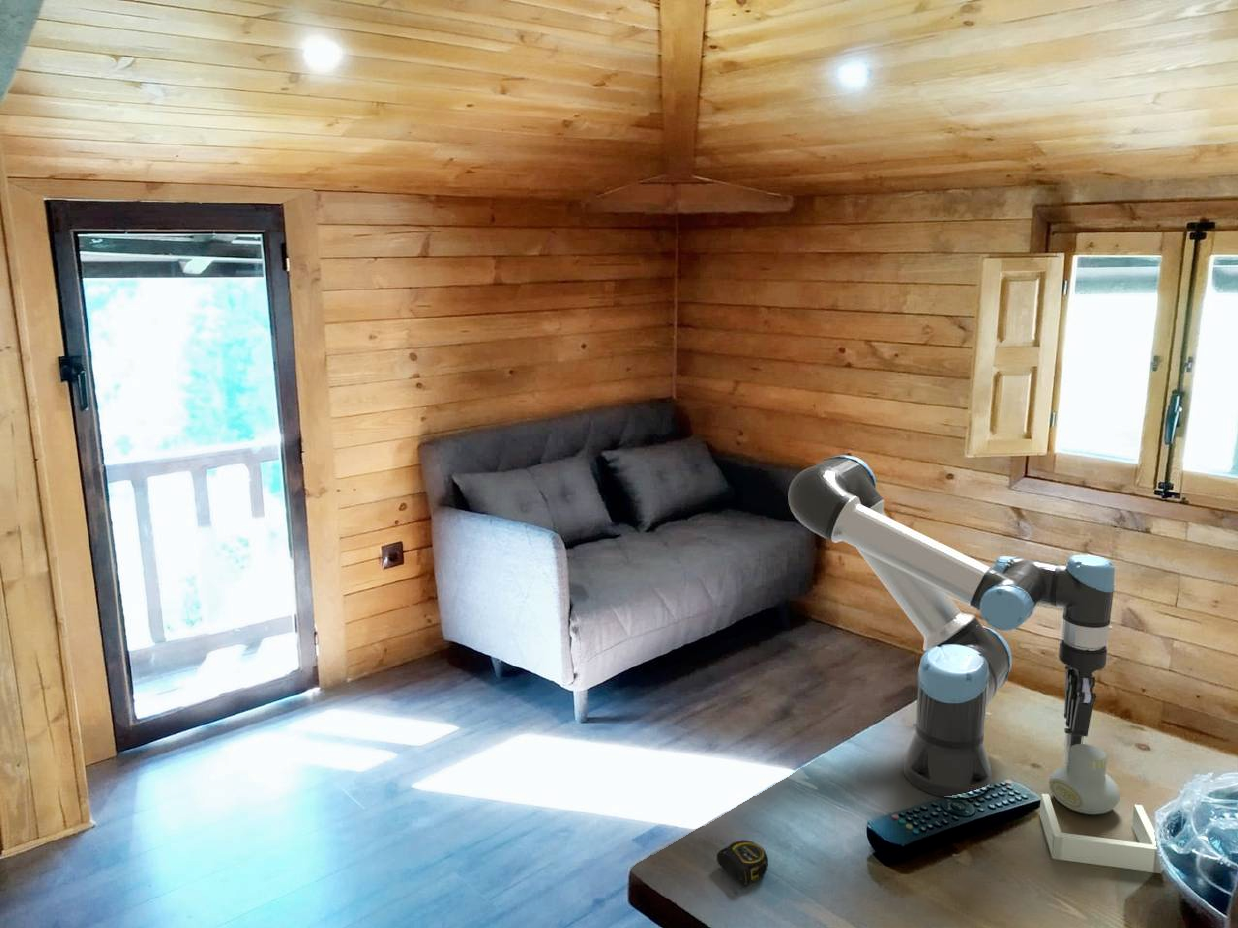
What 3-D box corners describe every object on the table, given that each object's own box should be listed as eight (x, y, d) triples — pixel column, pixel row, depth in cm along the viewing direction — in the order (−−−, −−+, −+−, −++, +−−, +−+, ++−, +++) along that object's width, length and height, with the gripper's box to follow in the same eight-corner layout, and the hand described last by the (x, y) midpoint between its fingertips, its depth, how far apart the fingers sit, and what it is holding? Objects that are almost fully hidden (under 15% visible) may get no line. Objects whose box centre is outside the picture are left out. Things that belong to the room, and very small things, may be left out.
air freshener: (1127, 815, 158) (1133, 761, 156) (1091, 827, 155) (1097, 773, 153) (1074, 782, 168) (1079, 732, 166) (1039, 793, 165) (1044, 742, 163)
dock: (1052, 858, 147) (1054, 836, 147) (1039, 814, 159) (1041, 793, 158) (1161, 873, 144) (1164, 850, 143) (1139, 826, 155) (1142, 805, 154)
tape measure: (714, 867, 147) (714, 846, 146) (750, 854, 150) (750, 833, 149) (739, 893, 141) (739, 871, 140) (776, 878, 144) (776, 857, 143)
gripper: (1116, 659, 158) (1102, 785, 164) (1098, 629, 171) (1086, 747, 176) (1068, 655, 160) (1056, 779, 165) (1053, 626, 172) (1043, 743, 178)
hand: (1071, 763), depth 171 cm, fingers closed
